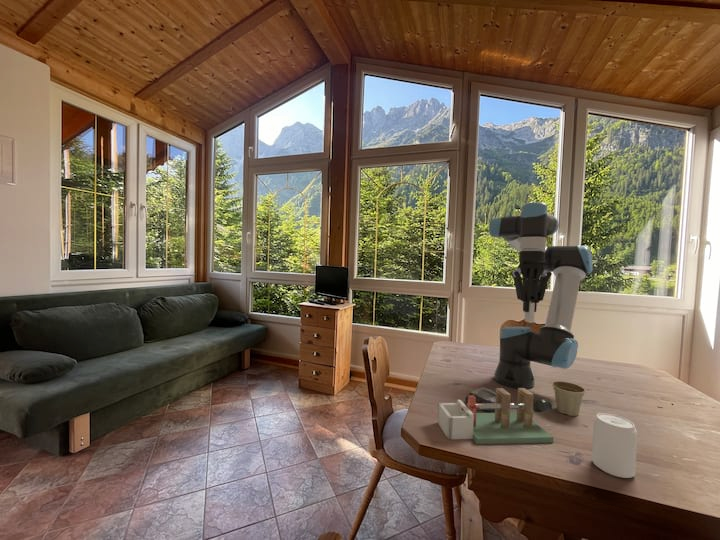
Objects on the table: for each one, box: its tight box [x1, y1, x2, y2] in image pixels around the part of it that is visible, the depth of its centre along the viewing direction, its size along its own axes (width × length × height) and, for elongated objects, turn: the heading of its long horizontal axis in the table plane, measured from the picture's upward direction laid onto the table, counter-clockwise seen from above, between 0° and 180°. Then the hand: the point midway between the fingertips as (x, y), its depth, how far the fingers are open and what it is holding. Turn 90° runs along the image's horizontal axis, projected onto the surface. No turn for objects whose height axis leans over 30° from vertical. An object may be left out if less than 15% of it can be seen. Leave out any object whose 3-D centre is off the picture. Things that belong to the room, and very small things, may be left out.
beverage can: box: [591, 412, 638, 479], centre depth 74 cm, size 8×8×12 cm
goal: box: [437, 399, 474, 440], centre depth 89 cm, size 7×9×7 cm
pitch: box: [461, 411, 554, 445], centre depth 91 cm, size 22×14×2 cm, turn 95°
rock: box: [465, 386, 496, 413], centre depth 106 cm, size 14×11×5 cm
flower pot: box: [551, 380, 587, 417], centre depth 103 cm, size 9×9×9 cm
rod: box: [466, 394, 553, 427], centre depth 91 cm, size 25×4×8 cm, turn 95°
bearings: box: [495, 387, 534, 429], centre depth 91 cm, size 9×4×10 cm, turn 95°
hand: (529, 321), depth 101 cm, fingers closed
